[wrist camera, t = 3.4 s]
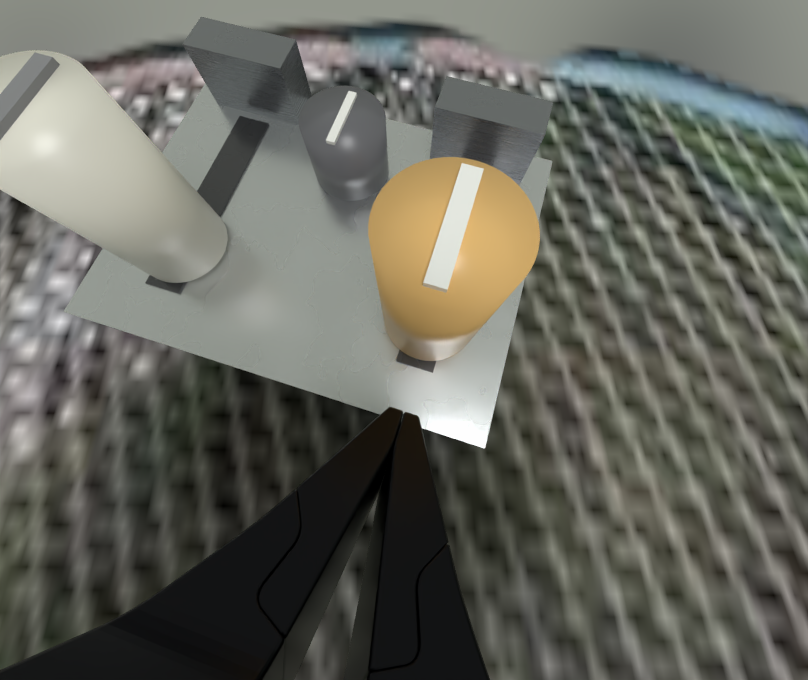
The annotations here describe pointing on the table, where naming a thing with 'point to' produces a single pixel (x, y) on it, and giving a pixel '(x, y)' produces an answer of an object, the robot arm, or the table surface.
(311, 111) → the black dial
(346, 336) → the console plate
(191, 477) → the table surface
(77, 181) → the cream knob
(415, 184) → the orange knob
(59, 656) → the robot arm
